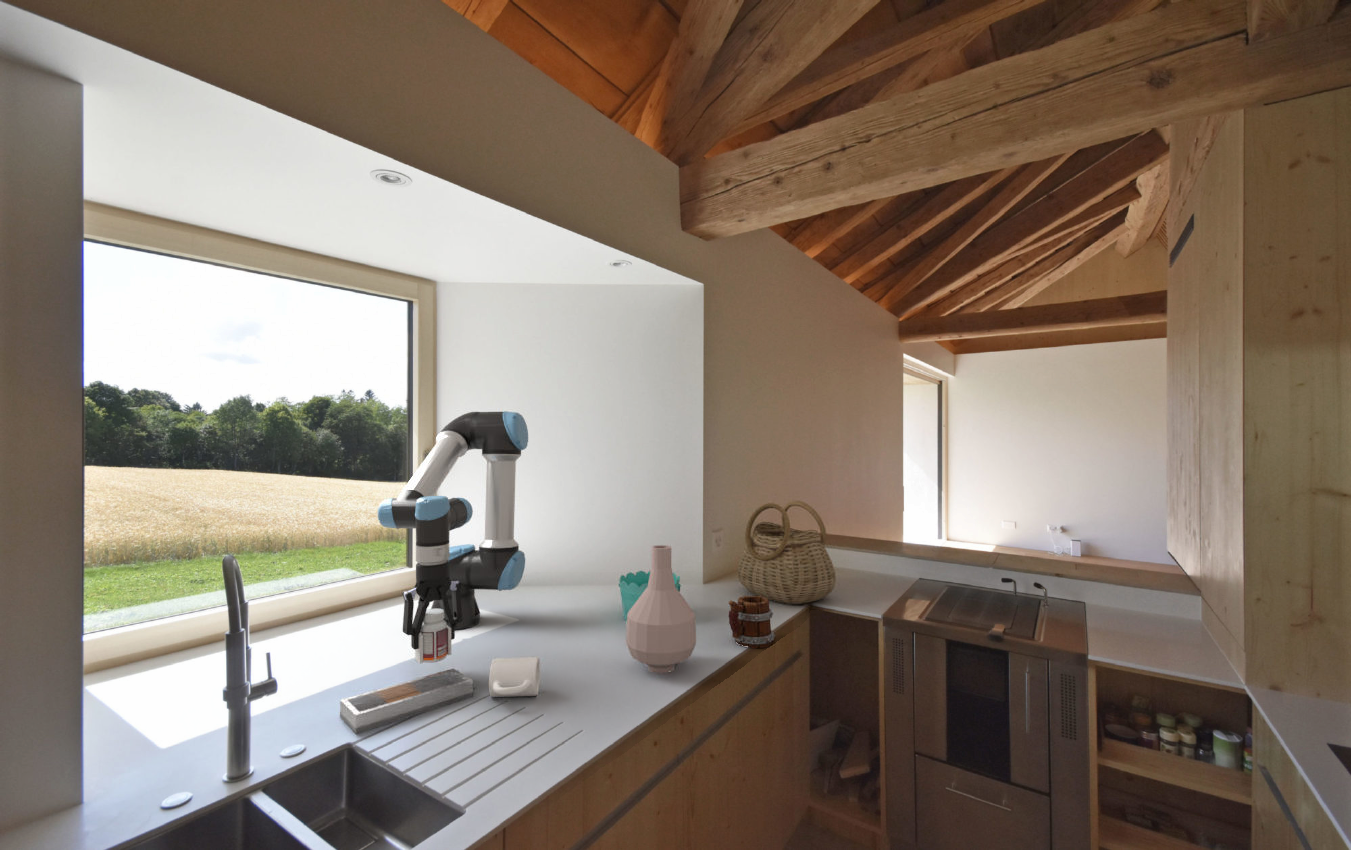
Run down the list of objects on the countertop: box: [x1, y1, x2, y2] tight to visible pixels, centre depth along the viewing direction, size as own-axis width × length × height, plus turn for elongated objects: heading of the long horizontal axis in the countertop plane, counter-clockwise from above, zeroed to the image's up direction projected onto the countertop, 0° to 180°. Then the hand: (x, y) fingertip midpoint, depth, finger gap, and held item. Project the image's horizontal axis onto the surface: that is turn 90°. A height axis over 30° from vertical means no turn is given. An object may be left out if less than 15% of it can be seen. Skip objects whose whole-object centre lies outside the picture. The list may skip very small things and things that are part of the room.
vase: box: [625, 544, 697, 674], centre depth 152 cm, size 18×18×30 cm
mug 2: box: [728, 595, 776, 649], centre depth 170 cm, size 12×14×15 cm
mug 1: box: [488, 656, 541, 698], centre depth 134 cm, size 12×10×8 cm
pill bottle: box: [420, 608, 448, 664], centre depth 147 cm, size 6×6×11 cm
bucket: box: [618, 570, 682, 622], centre depth 193 cm, size 19×18×13 cm
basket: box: [737, 500, 837, 605], centre depth 219 cm, size 35×28×34 cm
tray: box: [339, 667, 474, 735], centre depth 130 cm, size 24×10×4 cm, turn 134°
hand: (433, 657), depth 147 cm, fingers closed on pill bottle, 6 cm apart
